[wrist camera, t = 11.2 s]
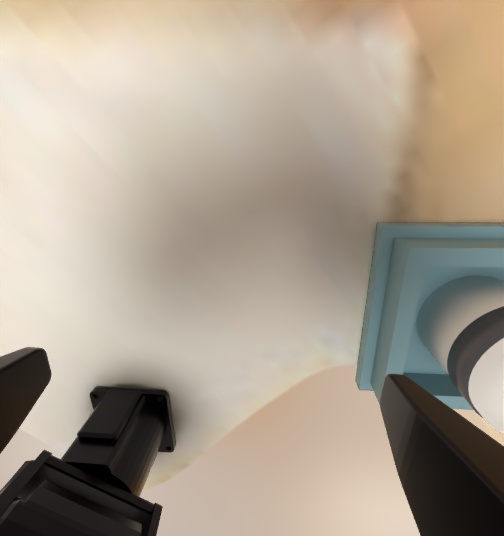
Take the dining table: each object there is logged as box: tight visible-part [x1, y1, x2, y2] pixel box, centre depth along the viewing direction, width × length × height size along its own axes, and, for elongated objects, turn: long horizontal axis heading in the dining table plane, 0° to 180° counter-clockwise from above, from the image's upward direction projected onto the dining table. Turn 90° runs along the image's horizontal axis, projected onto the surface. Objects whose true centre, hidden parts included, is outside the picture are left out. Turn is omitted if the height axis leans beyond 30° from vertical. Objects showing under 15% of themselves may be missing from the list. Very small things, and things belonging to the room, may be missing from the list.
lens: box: [416, 275, 504, 434], centre depth 15 cm, size 6×6×6 cm
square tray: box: [356, 223, 504, 410], centre depth 17 cm, size 12×12×3 cm
